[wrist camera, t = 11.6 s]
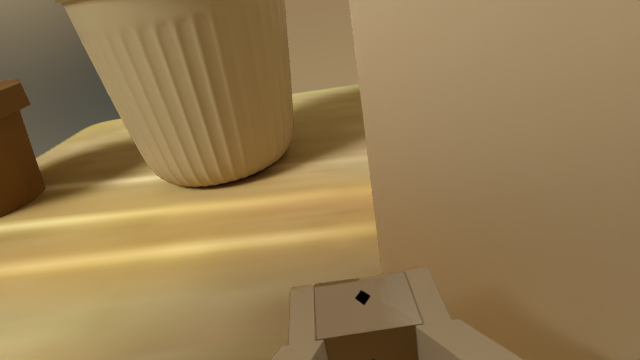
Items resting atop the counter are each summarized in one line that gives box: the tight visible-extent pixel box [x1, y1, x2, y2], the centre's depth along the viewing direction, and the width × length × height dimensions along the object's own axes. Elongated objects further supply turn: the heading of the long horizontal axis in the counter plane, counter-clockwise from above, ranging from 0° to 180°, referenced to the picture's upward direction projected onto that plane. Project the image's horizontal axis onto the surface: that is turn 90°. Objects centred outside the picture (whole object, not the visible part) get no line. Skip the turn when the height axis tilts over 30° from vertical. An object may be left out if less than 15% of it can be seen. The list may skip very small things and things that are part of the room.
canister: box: [52, 0, 293, 187], centre depth 36 cm, size 18×18×21 cm
